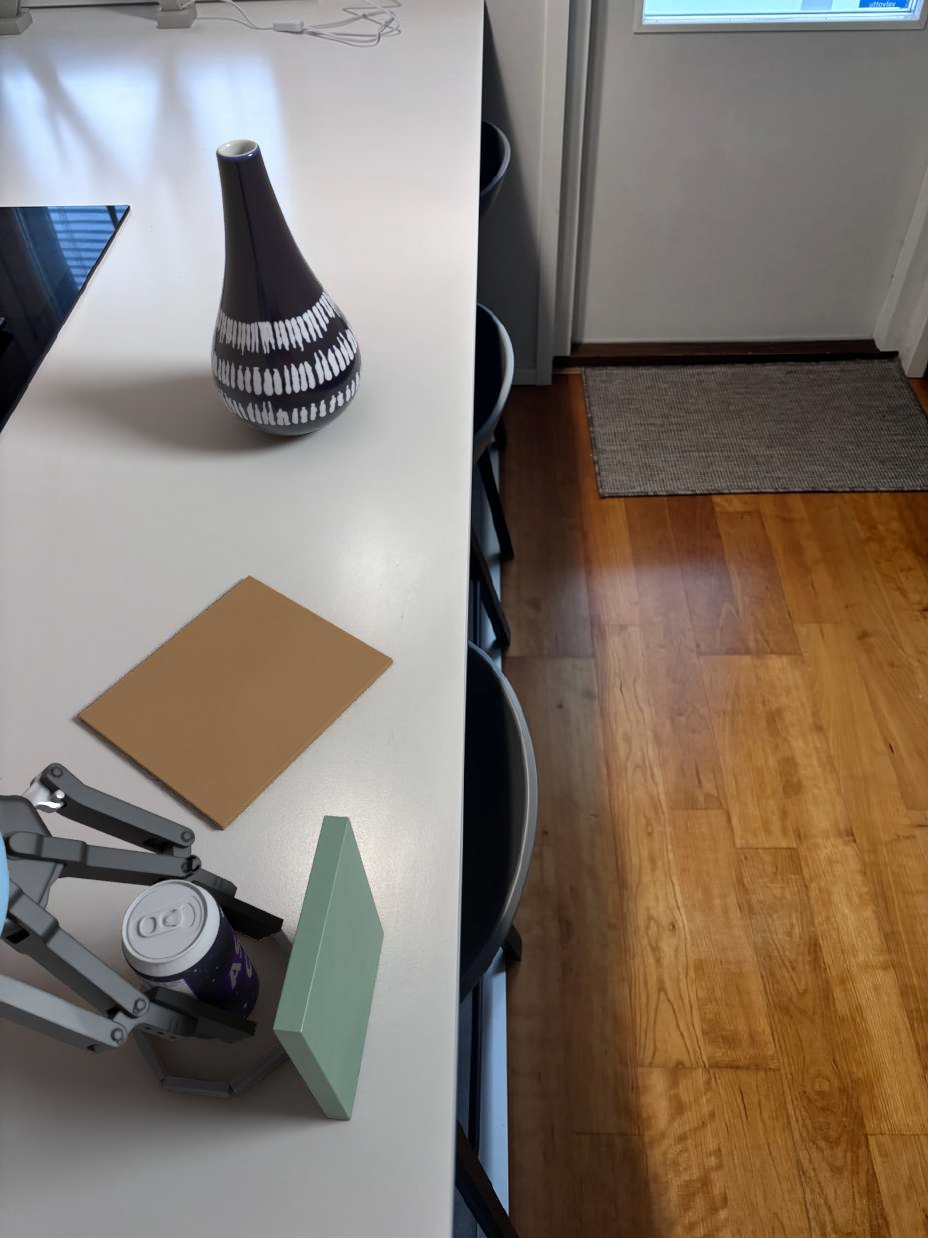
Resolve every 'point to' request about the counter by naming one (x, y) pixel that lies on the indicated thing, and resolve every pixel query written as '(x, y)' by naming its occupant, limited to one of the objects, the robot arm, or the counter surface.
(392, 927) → the counter surface
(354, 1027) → the green panel with ring
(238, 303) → the vase
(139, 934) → the beverage can
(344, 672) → the cork mat
